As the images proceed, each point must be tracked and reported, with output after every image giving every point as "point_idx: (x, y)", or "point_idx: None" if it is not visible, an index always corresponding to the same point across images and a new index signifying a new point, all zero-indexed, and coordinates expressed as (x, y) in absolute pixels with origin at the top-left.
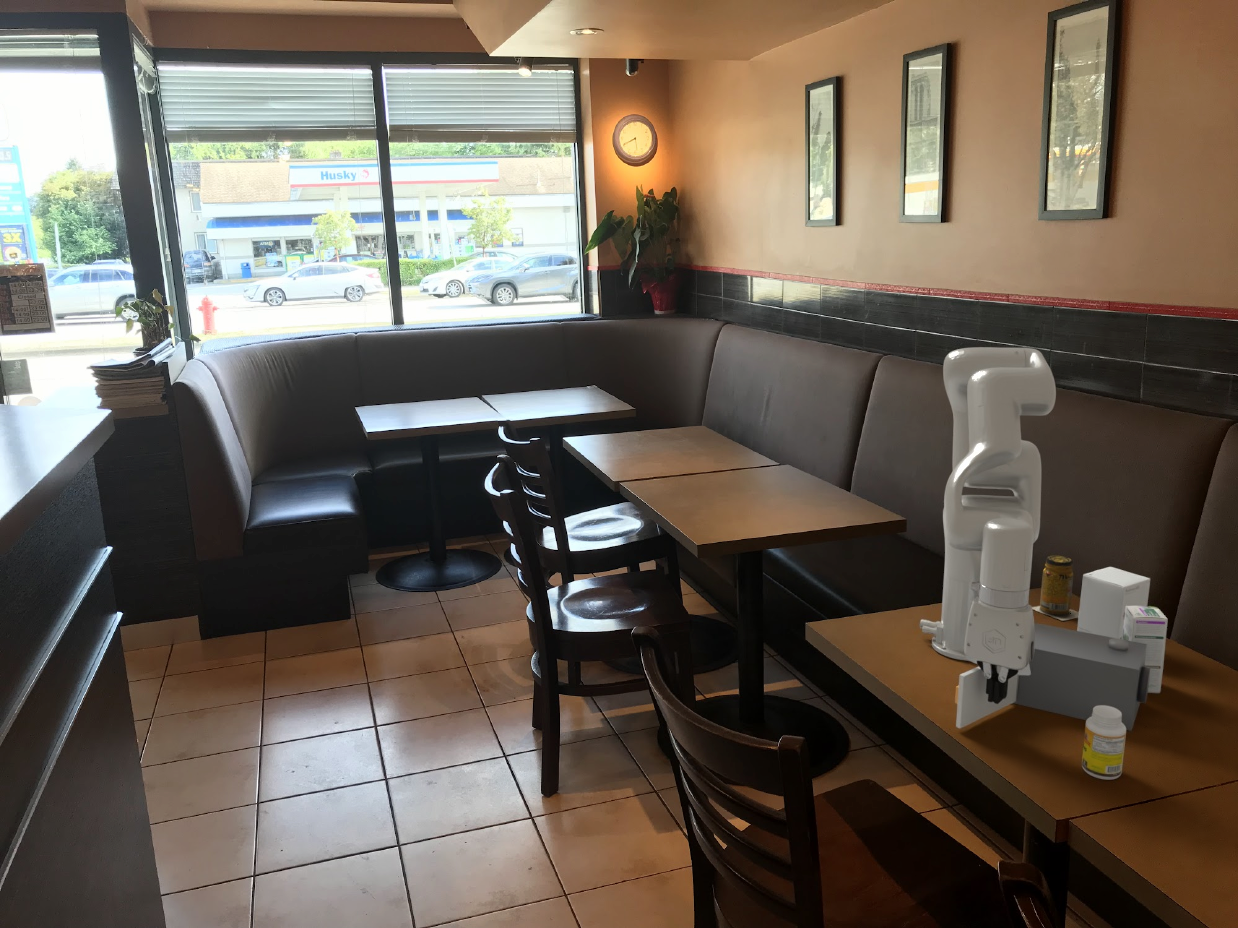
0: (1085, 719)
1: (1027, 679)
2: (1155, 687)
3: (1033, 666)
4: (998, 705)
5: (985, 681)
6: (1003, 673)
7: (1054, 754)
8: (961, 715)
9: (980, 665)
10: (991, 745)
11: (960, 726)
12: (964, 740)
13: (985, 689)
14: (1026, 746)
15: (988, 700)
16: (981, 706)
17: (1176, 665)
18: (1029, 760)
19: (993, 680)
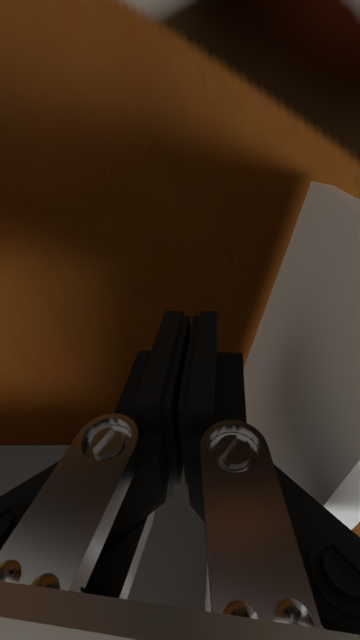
0: (69, 445)
1: (186, 521)
2: None
3: (164, 579)
4: None
5: (277, 439)
6: (77, 489)
7: (5, 254)
8: (325, 196)
9: (332, 539)
10: (166, 167)
11: (312, 183)
12: (269, 125)
13: (270, 404)
14: (82, 247)
15: (213, 311)
16: (268, 337)
17: None
18: (19, 155)
19: (183, 415)
